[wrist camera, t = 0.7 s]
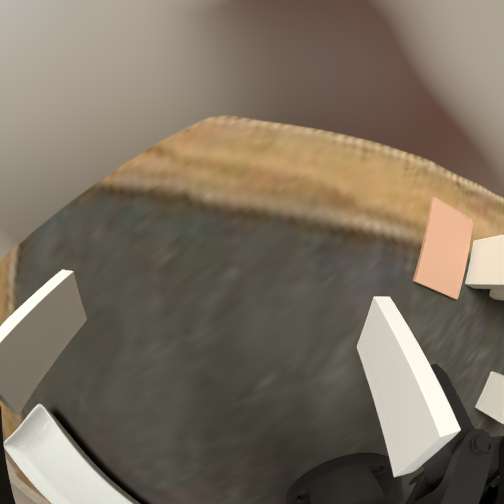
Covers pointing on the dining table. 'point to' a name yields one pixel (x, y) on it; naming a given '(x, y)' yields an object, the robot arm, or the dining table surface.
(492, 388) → the domino
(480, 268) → the domino
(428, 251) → the mat
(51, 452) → the square plate
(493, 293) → the domino
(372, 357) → the robot arm
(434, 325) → the dining table surface
